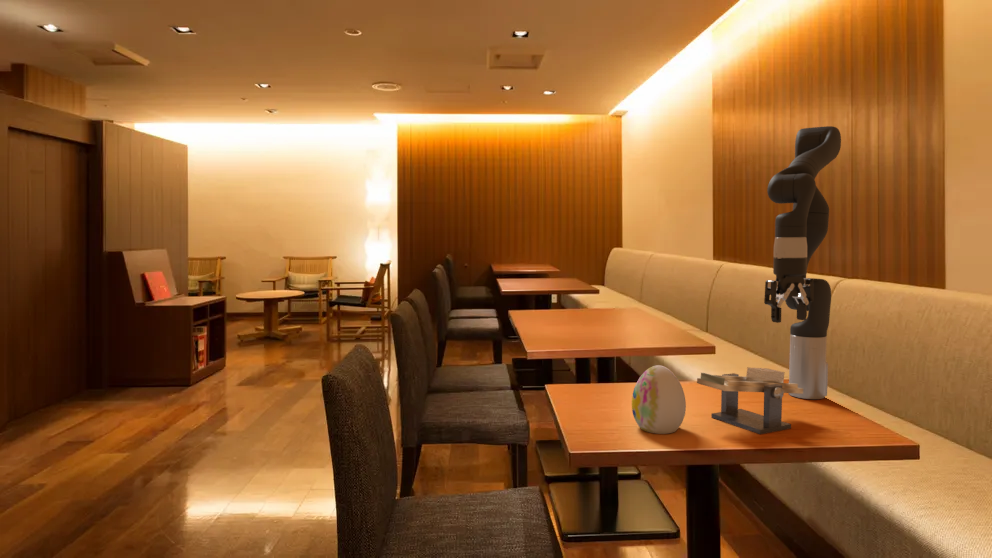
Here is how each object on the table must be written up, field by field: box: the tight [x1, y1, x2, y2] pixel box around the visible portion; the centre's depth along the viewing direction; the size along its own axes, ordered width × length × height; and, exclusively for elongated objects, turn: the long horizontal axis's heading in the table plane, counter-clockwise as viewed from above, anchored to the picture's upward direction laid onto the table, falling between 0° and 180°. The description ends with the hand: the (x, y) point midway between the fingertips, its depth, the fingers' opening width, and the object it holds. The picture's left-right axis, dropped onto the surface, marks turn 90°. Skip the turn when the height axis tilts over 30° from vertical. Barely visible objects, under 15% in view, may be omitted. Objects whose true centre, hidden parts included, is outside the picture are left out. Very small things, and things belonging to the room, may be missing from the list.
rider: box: [745, 366, 786, 383], centre depth 153 cm, size 7×5×4 cm
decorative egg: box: [631, 364, 687, 435], centre depth 147 cm, size 12×12×15 cm
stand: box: [711, 372, 792, 435], centre depth 151 cm, size 10×17×10 cm, turn 25°
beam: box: [696, 372, 804, 394], centre depth 151 cm, size 26×11×3 cm, turn 116°
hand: (788, 321), depth 156 cm, fingers open, 8 cm apart
